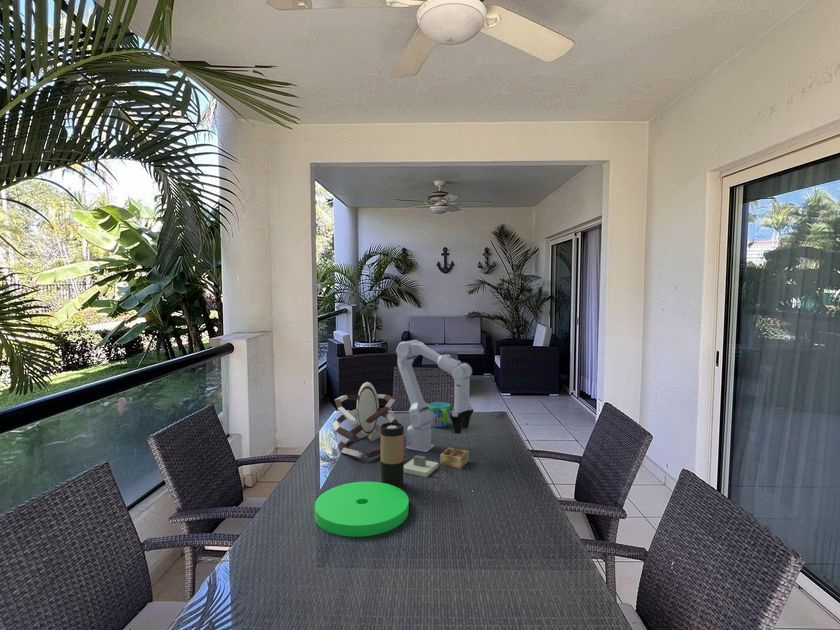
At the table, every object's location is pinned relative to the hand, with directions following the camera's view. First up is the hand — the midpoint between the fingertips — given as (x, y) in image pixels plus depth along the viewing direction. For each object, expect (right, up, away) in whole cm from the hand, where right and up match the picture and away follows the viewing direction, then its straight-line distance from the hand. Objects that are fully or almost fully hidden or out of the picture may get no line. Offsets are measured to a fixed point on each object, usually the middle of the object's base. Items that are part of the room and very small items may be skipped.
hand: (461, 430), depth 174 cm
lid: (-16, -11, -12) cm, 23 cm away
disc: (-33, -13, -42) cm, 55 cm away
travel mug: (-25, -12, -25) cm, 37 cm away
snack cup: (-7, -8, +41) cm, 42 cm away
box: (-3, -11, -6) cm, 13 cm away
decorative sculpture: (-38, -10, +12) cm, 41 cm away
